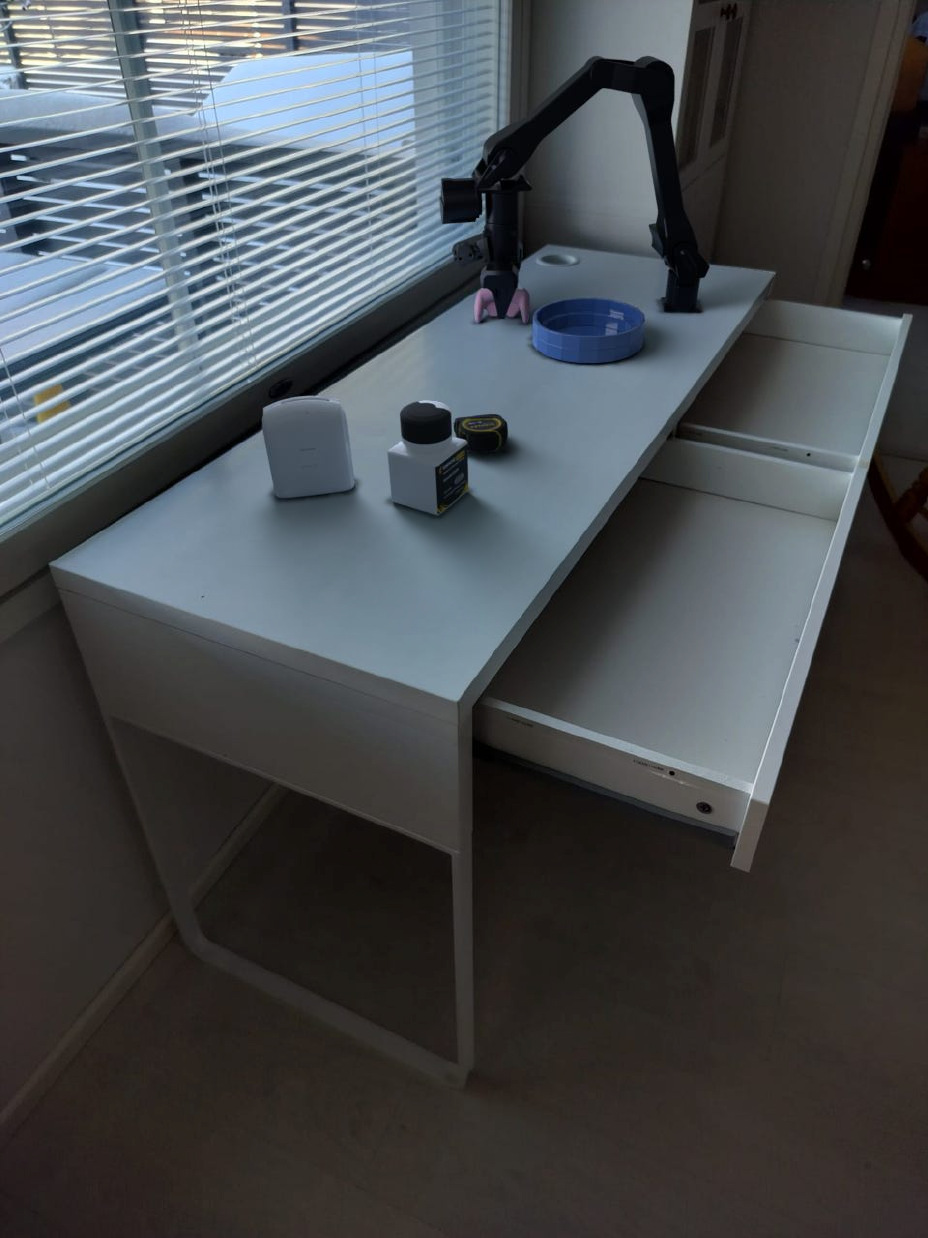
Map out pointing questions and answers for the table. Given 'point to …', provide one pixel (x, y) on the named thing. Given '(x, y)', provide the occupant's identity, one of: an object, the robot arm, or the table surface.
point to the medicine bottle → (428, 459)
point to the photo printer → (308, 446)
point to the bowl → (588, 330)
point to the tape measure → (482, 432)
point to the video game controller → (518, 302)
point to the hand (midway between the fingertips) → (502, 312)
